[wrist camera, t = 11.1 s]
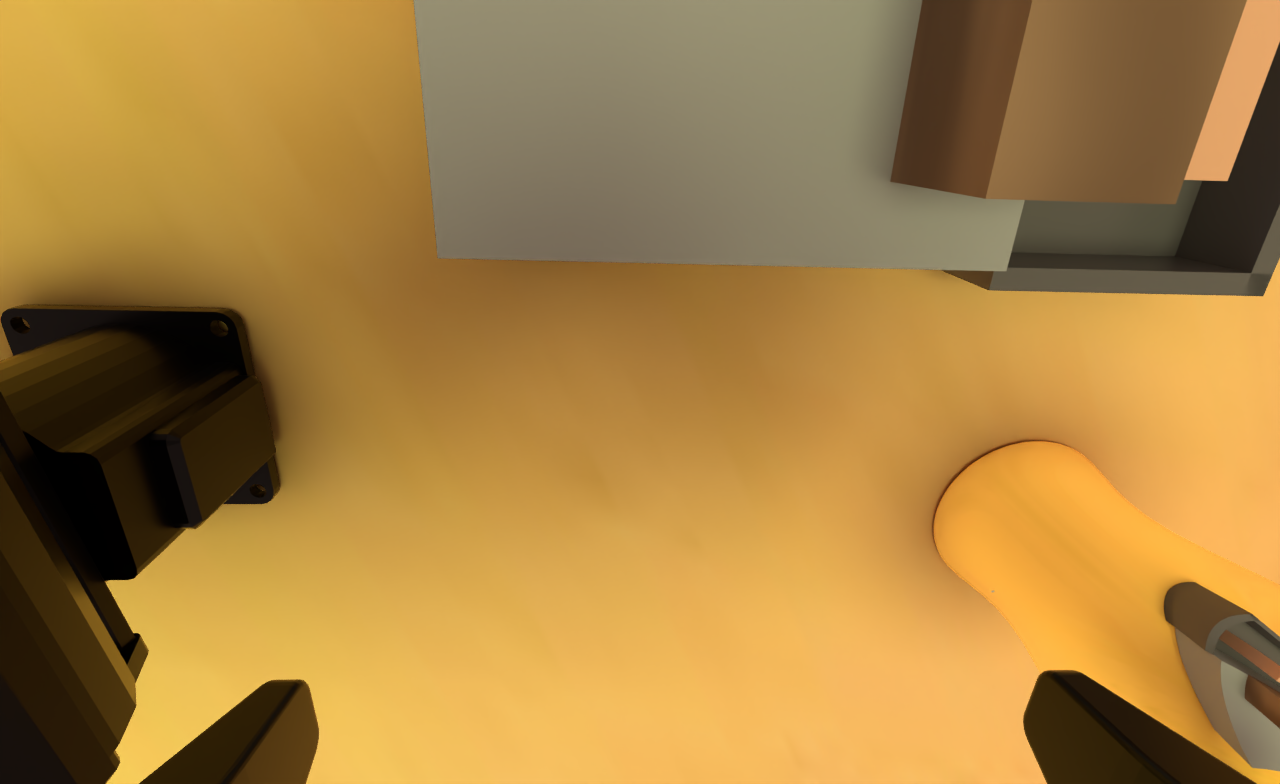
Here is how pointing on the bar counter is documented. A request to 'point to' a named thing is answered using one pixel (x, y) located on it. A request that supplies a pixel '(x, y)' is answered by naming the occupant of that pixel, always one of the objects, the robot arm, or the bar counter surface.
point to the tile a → (1237, 91)
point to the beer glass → (1120, 598)
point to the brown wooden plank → (1061, 97)
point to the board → (685, 136)
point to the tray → (1161, 231)
